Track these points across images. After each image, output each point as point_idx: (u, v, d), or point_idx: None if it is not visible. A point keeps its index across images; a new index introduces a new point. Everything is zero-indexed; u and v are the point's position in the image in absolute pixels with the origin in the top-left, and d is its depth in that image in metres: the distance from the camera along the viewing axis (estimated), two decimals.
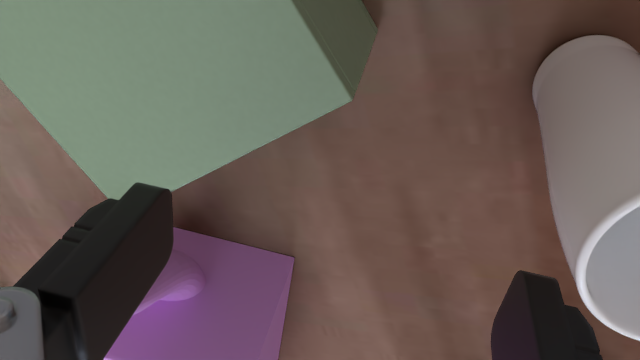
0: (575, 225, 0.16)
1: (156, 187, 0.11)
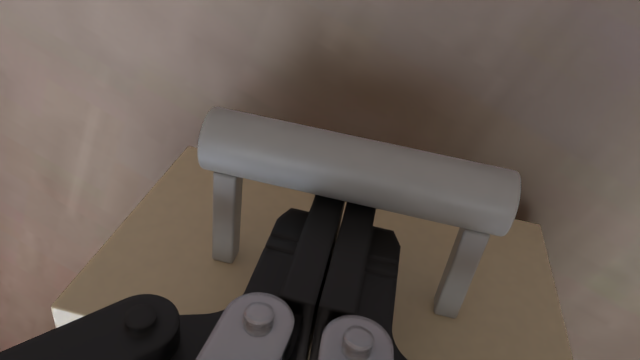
0: None
1: None
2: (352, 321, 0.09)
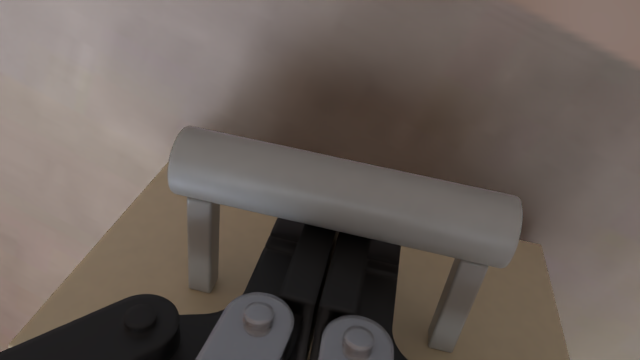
0: None
1: None
2: (352, 321, 0.09)
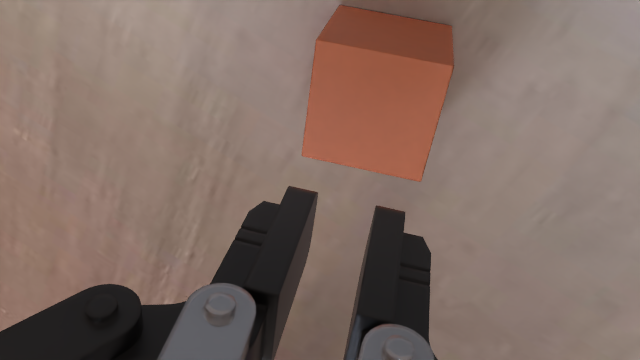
0: None
1: (308, 190, 0.12)
2: (391, 330, 0.09)
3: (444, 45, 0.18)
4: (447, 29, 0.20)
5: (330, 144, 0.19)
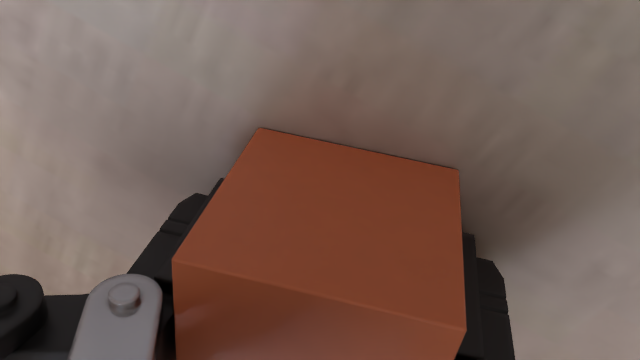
0: None
1: None
2: None
3: (444, 245, 0.09)
4: (450, 183, 0.11)
5: None
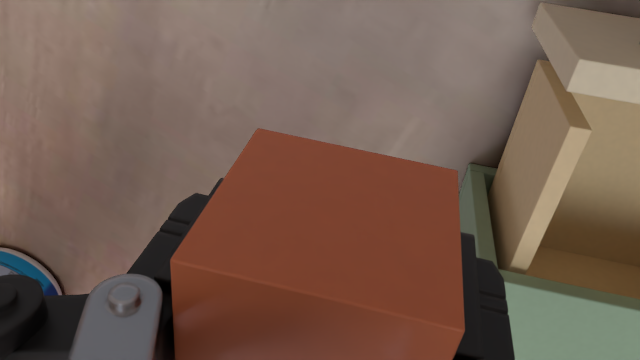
0: None
1: None
2: None
3: (443, 246, 0.09)
4: (449, 184, 0.11)
5: None
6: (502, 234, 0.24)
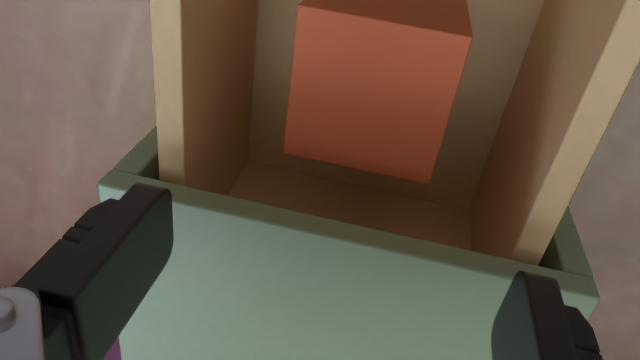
0: None
1: (156, 187, 0.11)
2: None
3: None
4: None
5: (341, 3, 0.14)
6: None
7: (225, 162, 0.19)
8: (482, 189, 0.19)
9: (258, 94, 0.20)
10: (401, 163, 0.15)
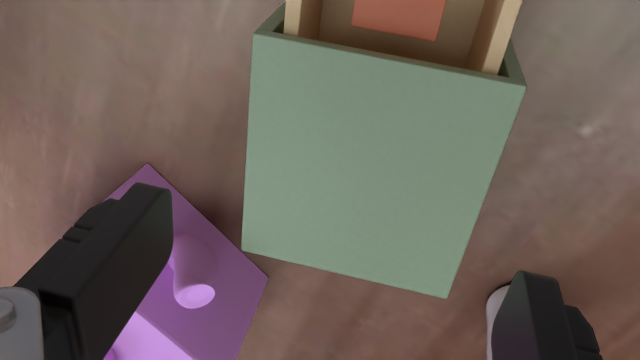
0: None
1: (156, 187, 0.11)
2: None
3: None
4: None
5: None
6: None
7: None
8: (468, 62, 0.31)
9: (326, 5, 0.32)
10: (419, 28, 0.27)
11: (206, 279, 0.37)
